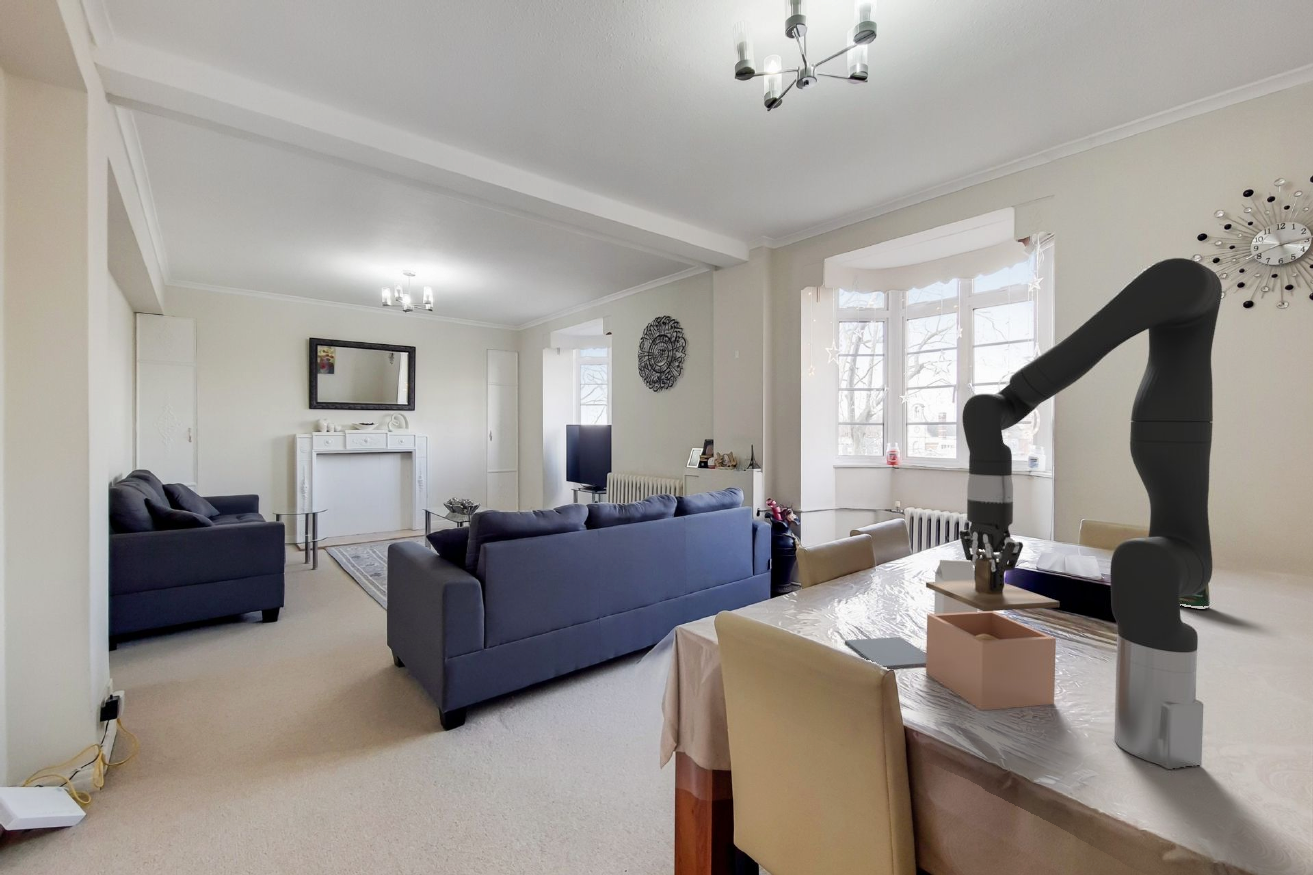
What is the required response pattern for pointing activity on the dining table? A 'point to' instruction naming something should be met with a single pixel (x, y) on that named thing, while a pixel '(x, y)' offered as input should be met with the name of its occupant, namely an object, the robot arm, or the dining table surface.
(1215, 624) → the dining table surface
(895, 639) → the mat
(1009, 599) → the lid
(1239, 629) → the dining table surface
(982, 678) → the tan open box
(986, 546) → the robot arm
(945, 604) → the milk carton
